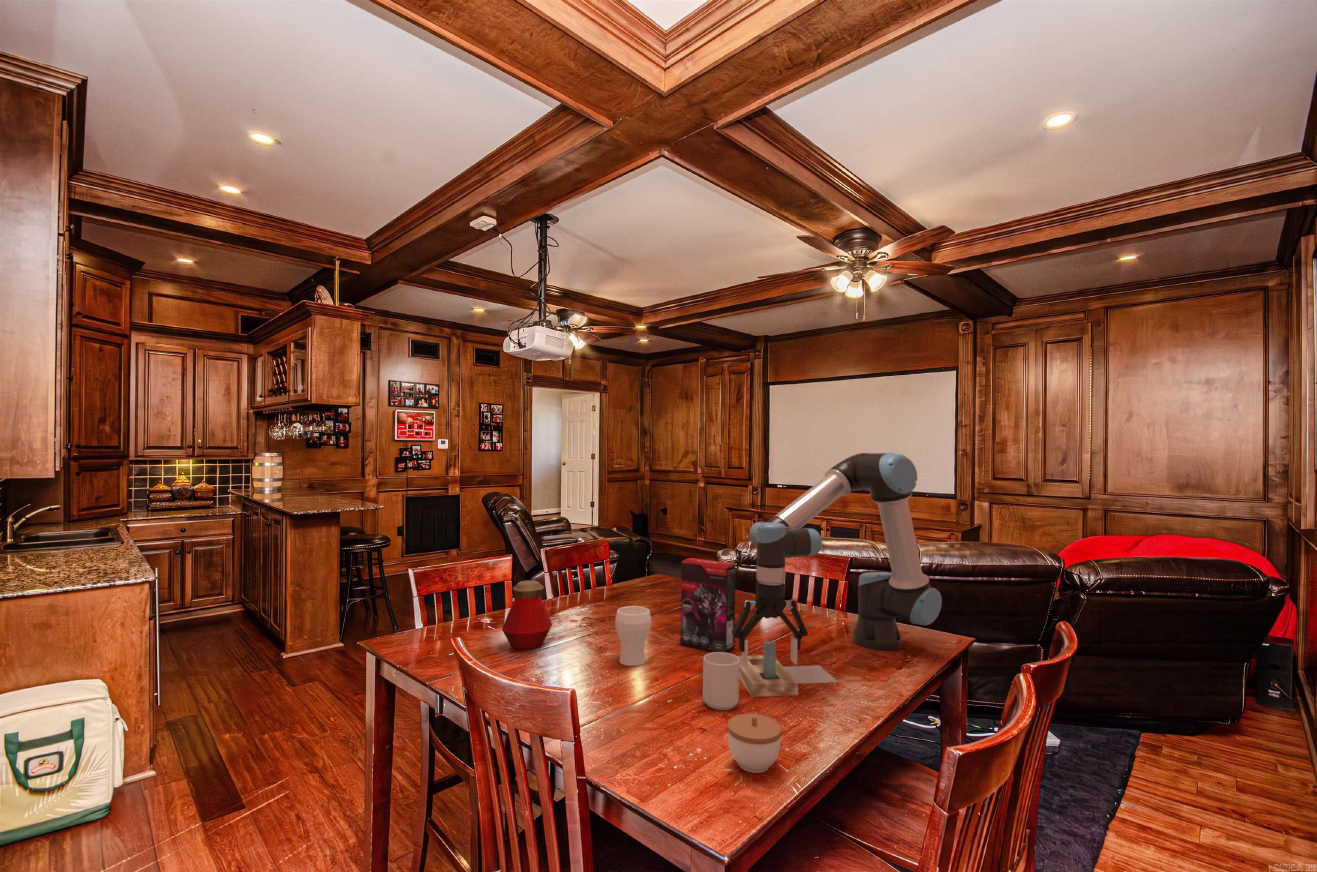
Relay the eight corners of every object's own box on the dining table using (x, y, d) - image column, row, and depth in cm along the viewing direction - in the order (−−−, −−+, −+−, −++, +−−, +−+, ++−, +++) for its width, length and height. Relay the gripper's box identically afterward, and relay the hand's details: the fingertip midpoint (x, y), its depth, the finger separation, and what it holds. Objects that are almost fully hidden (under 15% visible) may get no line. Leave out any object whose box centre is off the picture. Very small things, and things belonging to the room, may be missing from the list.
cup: (657, 661, 170) (658, 610, 170) (632, 671, 162) (633, 617, 162) (632, 652, 177) (633, 603, 177) (607, 661, 169) (608, 610, 170)
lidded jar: (720, 772, 112) (721, 723, 112) (733, 746, 122) (734, 701, 122) (776, 784, 108) (777, 734, 108) (784, 757, 118) (785, 710, 118)
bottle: (549, 636, 190) (550, 576, 191) (554, 650, 177) (556, 585, 178) (500, 641, 185) (501, 578, 186) (502, 655, 173) (504, 588, 173)
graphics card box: (678, 644, 185) (679, 559, 185) (689, 639, 191) (690, 556, 191) (726, 656, 175) (727, 566, 176) (736, 649, 181) (737, 563, 182)
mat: (819, 666, 168) (819, 665, 168) (837, 683, 156) (837, 681, 156) (780, 668, 166) (780, 666, 166) (795, 684, 154) (795, 683, 154)
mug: (732, 714, 136) (733, 667, 137) (697, 707, 140) (698, 661, 140) (746, 695, 147) (746, 651, 148) (713, 688, 151) (713, 646, 151)
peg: (773, 686, 153) (773, 641, 153) (777, 691, 150) (777, 645, 150) (761, 686, 153) (762, 641, 153) (765, 691, 150) (765, 645, 150)
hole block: (772, 667, 167) (772, 654, 167) (798, 696, 147) (798, 682, 147) (732, 668, 165) (732, 656, 165) (752, 698, 146) (752, 684, 146)
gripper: (809, 578, 157) (808, 656, 157) (721, 579, 154) (720, 659, 154) (820, 584, 150) (820, 666, 149) (728, 585, 147) (727, 669, 146)
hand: (769, 663), depth 151 cm, fingers open, 13 cm apart
